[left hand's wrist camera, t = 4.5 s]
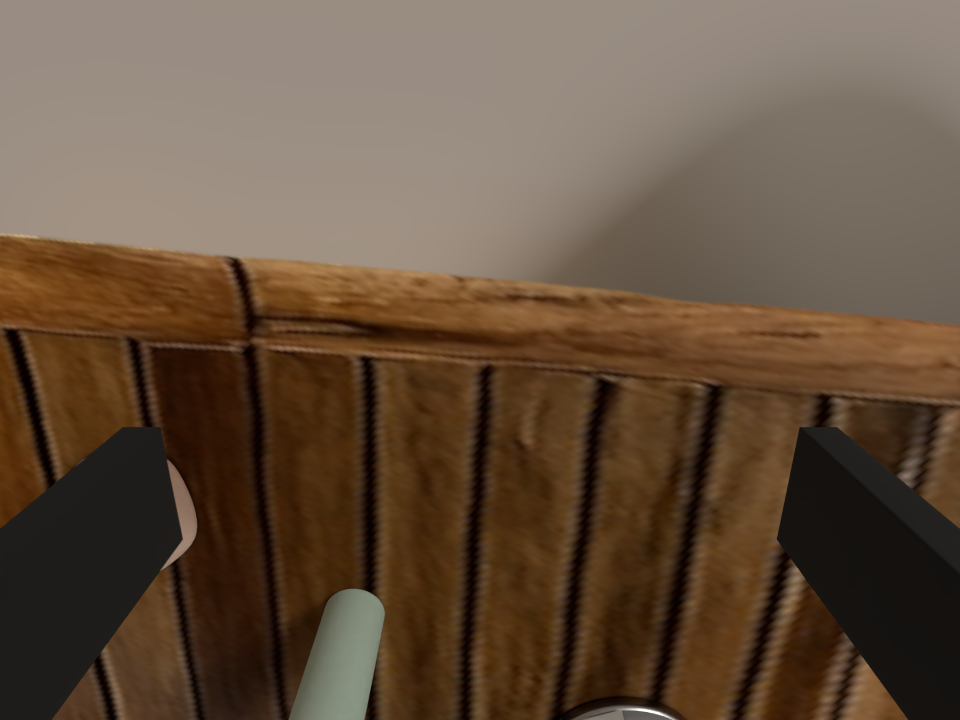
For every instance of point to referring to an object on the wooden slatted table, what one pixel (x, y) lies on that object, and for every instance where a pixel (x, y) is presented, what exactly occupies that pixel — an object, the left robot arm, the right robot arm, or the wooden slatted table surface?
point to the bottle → (341, 659)
